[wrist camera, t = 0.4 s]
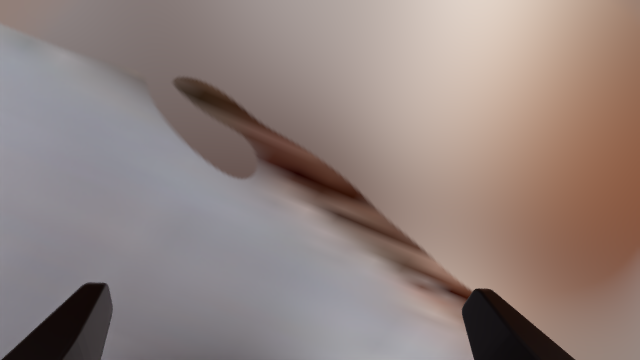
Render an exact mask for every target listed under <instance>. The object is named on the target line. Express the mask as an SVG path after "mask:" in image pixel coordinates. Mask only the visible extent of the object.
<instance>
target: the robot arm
mask: <svg viewBox="0 0 640 360" xmlns="http://www.w3.org/2000/svg"><path fill="white" fill-rule="evenodd" d="M112 311H113V305H112V300H111V296H110V291H109V287H108V285H107V284H106V283H92V282H90V283H86V284H84V285H82V286H81V287H80V288H79V289H78V290H77V291H76V292H75V293H74V294H72V295H71V296H70V297H69V298H68V299H67V300H66V301H65V302H64V303H63V304H62V305H61V306H59V307H58V308H57V309H56V310H55V311H54V312H53V313H52V314H51V315H50V316H49V317H47V318H46V319H45V320H44V321H43V322H42V323H41V324H40V325H39V326H38V327H37V328H35V329H34V330H33V331H32V332H31V333H30V334H29V335H28V336H27V337H26V338H25V339H23V340H22V341H21V342H20V343H19V344H18V345H17V346H16V347H15V348H14V349H13V350H11V351H10V352H9V353H8V354H7V355H6V356H5V357H4V358H3V359H2V360H101V356H102V352H103V348H104V344H105V341H106V337H107V333H108V329H109V325H110V321H111V317H112ZM462 316H463V320H464V324H465V327H466V331H467V335H468V339H469V342H470V346H471V350H472V354H473V357H474V360H575V359H574V358H573V357H571V356H570V355H569V354H568V353H567V352H565V351H564V350H563V349H562V348H561V347H559V346H558V345H557V344H556V343H555V342H554V341H552V340H551V339H550V338H549V337H548V336H546V335H545V334H544V333H543V332H542V331H540V330H539V329H538V328H537V327H536V326H534V325H533V324H532V323H531V322H530V321H528V320H527V319H526V318H525V317H524V316H523V315H521V314H520V313H519V312H518V311H517V310H515V309H514V308H513V307H512V306H511V305H509V304H508V303H507V302H506V301H505V300H503V299H502V298H501V297H500V296H499V295H498V294H496V293H495V292H494V291H492V290H491V289H475V290H474V291H473V292H472V293H471V295H470V296H469V298H468V299H467V301H466V302H465V304H464V305H463V308H462Z"/></svg>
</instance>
